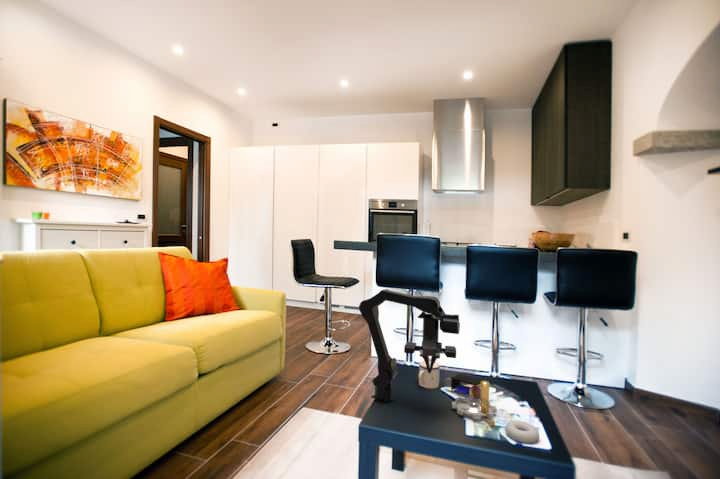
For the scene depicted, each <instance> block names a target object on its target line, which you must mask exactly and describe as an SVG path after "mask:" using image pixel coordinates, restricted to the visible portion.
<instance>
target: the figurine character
mask: <svg viewBox="0 0 720 479" xmlns="http://www.w3.org/2000/svg"><path fill="white" fill-rule="evenodd" d="M481 381H485V380H483V379H480V378H475V377H473V376H468V375H466V374H462V373H458V374H457V375H456V374H455V375H452V376H451V377H447V378H444V381H443V382H444V384H445V386H446V387H448V388H451V389H450V390H451V391H450V392H452V391H454V392H453V393H459V392H460V394H464V395H468V396H469V397H475V399H479V400H480V395H481V387H479V386H478V385H481ZM462 383H464V384H469V385H471V386H468V385H464V384H462ZM454 389H455V390H454Z"/></svg>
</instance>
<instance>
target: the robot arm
mask: <svg viewBox="0 0 720 479" xmlns="http://www.w3.org/2000/svg"><path fill="white" fill-rule="evenodd" d="M386 301H387V302H392V303H395V304H400V305H405V306H409V307H413V308H416V309H417V310H418V311H421V313H420V314H419V315H418V316H417V318H418V319H422V341H421V345H417V342H412V341H411V342H409V341H407V342H405V345H404V348H403V350H404V352H403V353H405V354H414V353H415V352H419V357H422V358H423V361H425V363H426V367H427V370H428V373H431V371H432V368H433V365H434V363H435V362H436V361H437V360H438V359H440V358H441V354H442V355H443V354H444V356H445V357H446V358H450V359H451V358H453V359H456V358H457V348H456V346H453V345H445V347H443V343H442V342H439V330H440V331H442V333H445V334H455V335H459V334H460V330H461V329H460V327H461V323H460V316H459V314H448V313H446V311H444V309H443V307H442V306H441V301H440V300H439V298H438V297H437V296H432V295H431V296H430V295H420V296H419V295H413V294H407V293H402V292H398V291H393V290H391V289H390V290H389V289H387V288H386V289H382V290H380V291H379V292H378V293H377V294H375V295H374V296H372V297H370V298H367V299H363V300H362V301H361V302H360V303H359V305H358V310H359V312H360V314H361V317H362V318H363V320H365V323H366V324H367V326H368V328H369V329H368V330H369V333H370V336H371V339H372V343H373V346H374V347H373V348H374V349H375V352H376V356H377V372H378V374H377V375H376V376H375V377H374V378H373V379H372V384H373V386H374V395H371V398H372V399H373V400H375V398H376V400H375V401H377V402H379V403H380V404H383V403H386V402H391V401H394V400H395V398H394V397H392V384H391V382H392V380H394V378H395V377H396V376H397V374H398V371H399V370H398V369H399V366H398V364H397V359H396V357H393V358H392V357H391V355H390V353H389V351H388V347H387V343H386V340H385V337H384V333H383V330H382V327H381V324H380V318H379V314H380V309H379V307H380V305H382V304H383V303H384V302H386ZM429 358H431V364H429Z"/></svg>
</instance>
